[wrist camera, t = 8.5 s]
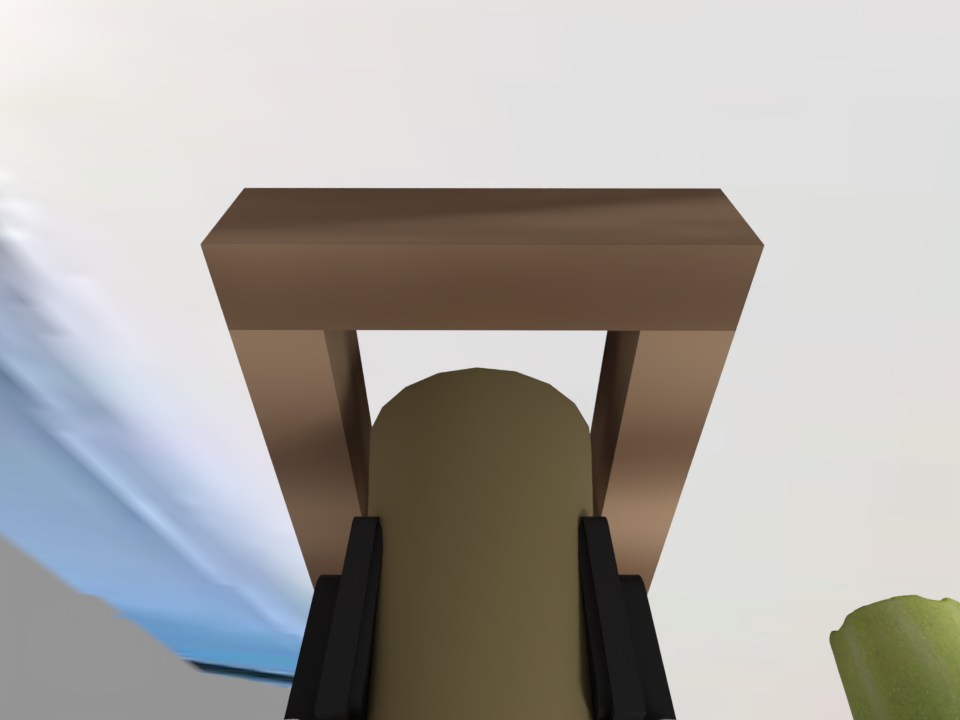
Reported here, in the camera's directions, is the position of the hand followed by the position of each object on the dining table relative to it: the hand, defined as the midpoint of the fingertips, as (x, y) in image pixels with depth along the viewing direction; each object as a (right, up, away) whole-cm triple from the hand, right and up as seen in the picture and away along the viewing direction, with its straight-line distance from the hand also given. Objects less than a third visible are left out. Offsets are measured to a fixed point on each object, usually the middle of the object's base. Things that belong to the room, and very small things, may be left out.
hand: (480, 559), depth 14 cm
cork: (0, +2, +3) cm, 3 cm away
